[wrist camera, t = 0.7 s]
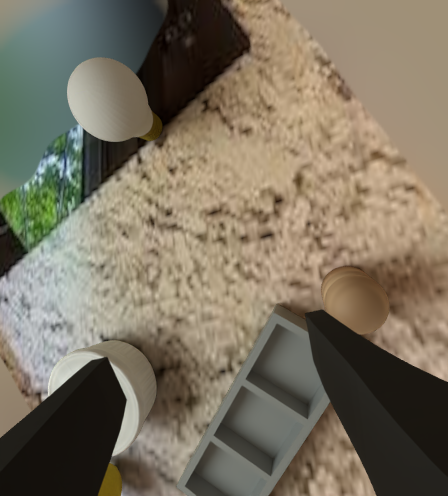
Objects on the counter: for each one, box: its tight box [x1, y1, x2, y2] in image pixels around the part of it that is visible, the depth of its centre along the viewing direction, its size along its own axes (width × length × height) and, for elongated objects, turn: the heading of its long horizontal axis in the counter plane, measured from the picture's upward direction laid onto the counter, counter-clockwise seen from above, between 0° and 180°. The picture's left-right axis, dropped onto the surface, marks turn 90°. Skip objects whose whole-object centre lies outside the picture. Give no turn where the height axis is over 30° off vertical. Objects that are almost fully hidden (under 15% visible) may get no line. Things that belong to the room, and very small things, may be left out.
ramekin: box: [48, 340, 157, 456], centre depth 30 cm, size 11×11×5 cm
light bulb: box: [67, 58, 162, 142], centre depth 24 cm, size 6×6×10 cm
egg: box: [321, 266, 389, 334], centre depth 22 cm, size 4×4×7 cm
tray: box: [176, 304, 330, 496], centre depth 27 cm, size 8×21×3 cm, turn 154°
